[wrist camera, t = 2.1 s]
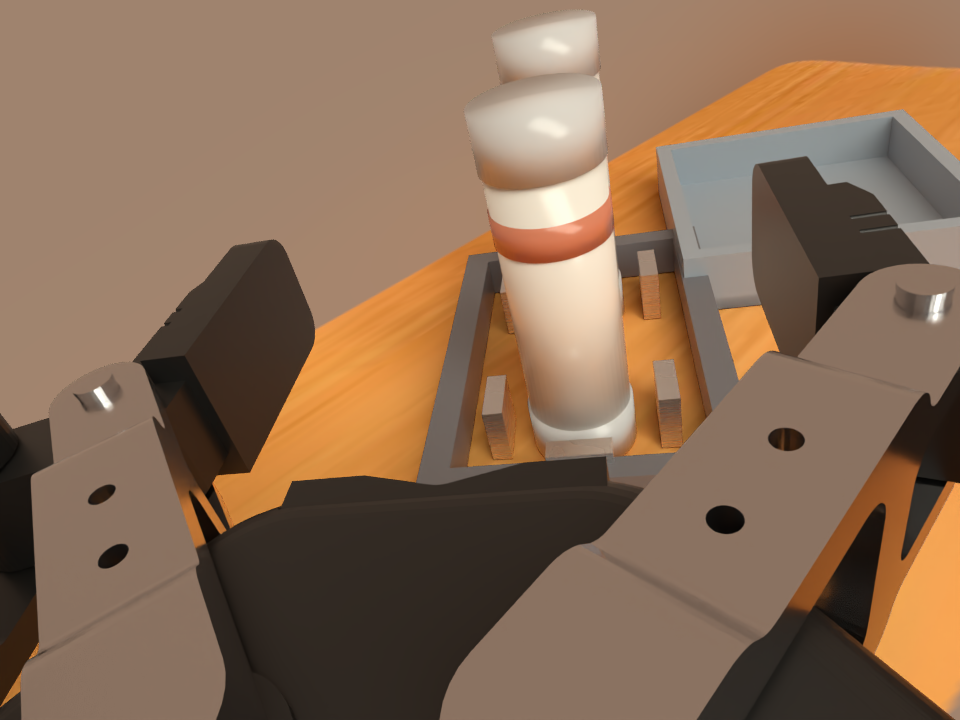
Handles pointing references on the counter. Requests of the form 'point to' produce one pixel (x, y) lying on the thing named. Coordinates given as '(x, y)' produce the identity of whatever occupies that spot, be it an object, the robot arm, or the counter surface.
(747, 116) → the counter surface
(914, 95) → the counter surface
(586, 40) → the fuse
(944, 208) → the tray
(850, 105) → the counter surface
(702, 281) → the clip holder
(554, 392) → the banded white cylinder
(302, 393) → the counter surface
